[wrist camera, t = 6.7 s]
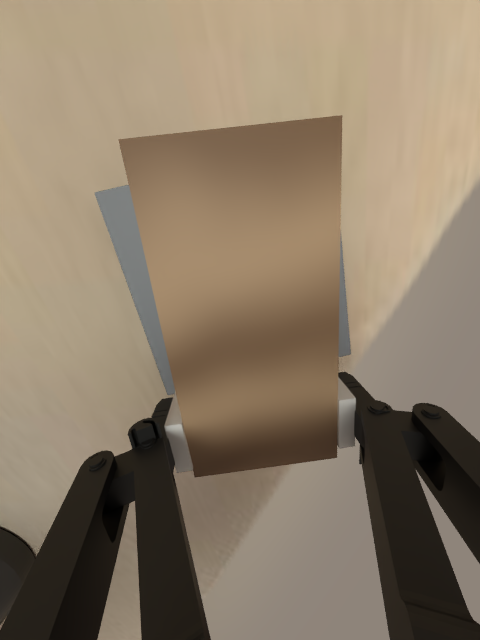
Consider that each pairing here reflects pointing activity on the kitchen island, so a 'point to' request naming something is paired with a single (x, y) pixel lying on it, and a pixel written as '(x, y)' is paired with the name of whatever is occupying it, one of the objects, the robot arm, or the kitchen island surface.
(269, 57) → the kitchen island surface
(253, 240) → the wooden block on stand
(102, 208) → the lock plate
